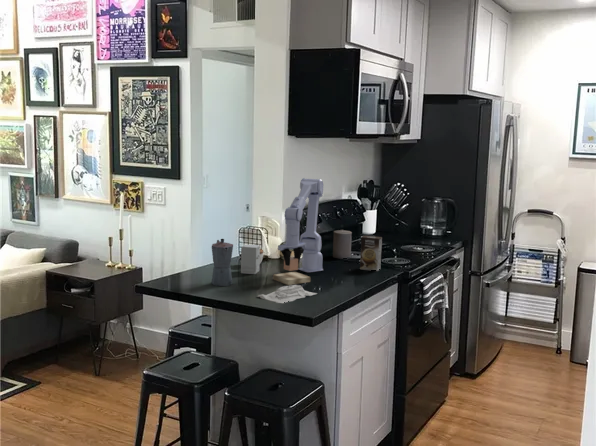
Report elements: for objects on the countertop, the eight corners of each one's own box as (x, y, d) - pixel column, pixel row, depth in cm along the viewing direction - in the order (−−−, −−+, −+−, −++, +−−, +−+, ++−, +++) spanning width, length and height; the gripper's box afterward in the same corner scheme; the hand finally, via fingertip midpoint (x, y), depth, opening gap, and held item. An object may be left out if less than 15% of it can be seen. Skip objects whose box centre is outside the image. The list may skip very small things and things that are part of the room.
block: (291, 267, 280) (291, 257, 279) (297, 269, 276) (298, 258, 276) (283, 269, 277) (283, 258, 276) (289, 270, 274) (290, 259, 273)
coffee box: (359, 269, 303) (360, 236, 300) (363, 266, 309) (364, 235, 306) (377, 271, 299) (379, 238, 297) (380, 268, 305) (382, 236, 303)
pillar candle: (328, 256, 332) (329, 228, 330) (341, 254, 339) (342, 227, 336) (342, 259, 325) (343, 231, 323) (354, 257, 332) (355, 229, 329)
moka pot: (216, 288, 259) (217, 241, 256) (204, 280, 273) (204, 235, 270) (238, 286, 264) (238, 240, 261) (225, 278, 277) (225, 234, 274)
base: (295, 276, 285) (295, 271, 285) (310, 281, 275) (310, 277, 275) (273, 279, 278) (273, 274, 278) (287, 285, 269) (287, 280, 268)
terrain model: (254, 302, 247) (253, 290, 246) (286, 288, 266) (285, 277, 265) (289, 309, 238) (288, 296, 237) (319, 294, 257) (319, 282, 256)
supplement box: (255, 274, 287) (256, 247, 285) (240, 273, 288) (240, 246, 286) (259, 271, 294) (260, 244, 292) (244, 270, 295) (245, 243, 293)
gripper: (299, 231, 281) (299, 261, 283) (274, 234, 272) (273, 264, 274) (309, 234, 276) (308, 264, 278) (283, 236, 267) (283, 267, 269)
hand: (292, 264), depth 276 cm, fingers closed on block, 4 cm apart
